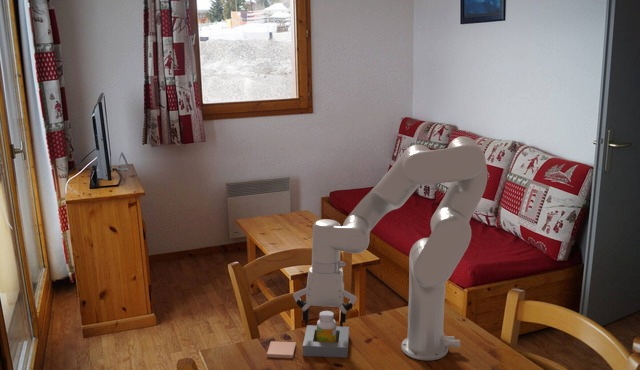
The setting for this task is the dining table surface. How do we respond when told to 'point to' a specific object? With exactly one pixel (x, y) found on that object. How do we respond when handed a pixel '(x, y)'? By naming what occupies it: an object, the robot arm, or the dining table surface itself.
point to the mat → (281, 349)
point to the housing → (326, 343)
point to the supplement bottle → (326, 327)
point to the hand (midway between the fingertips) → (324, 323)
